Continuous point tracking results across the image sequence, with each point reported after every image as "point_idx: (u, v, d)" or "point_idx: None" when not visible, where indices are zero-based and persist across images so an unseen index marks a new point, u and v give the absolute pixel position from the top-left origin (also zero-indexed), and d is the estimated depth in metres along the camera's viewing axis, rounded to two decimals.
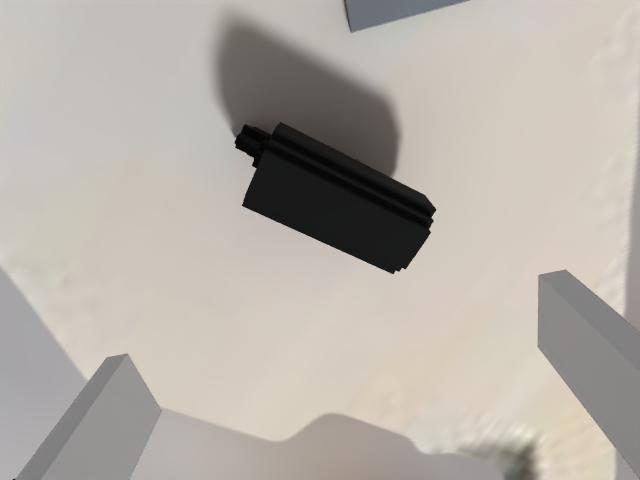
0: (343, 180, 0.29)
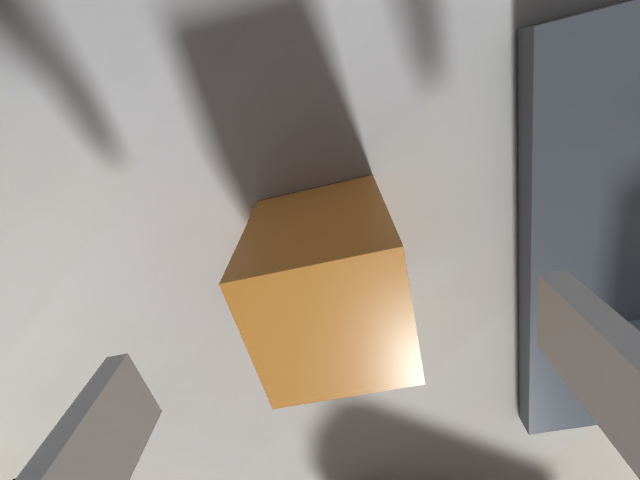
0: None
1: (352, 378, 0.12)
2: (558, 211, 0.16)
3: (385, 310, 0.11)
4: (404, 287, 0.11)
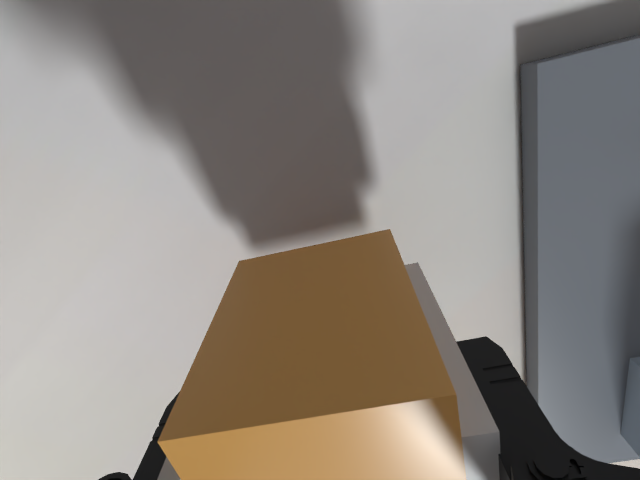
0: None
1: None
2: (565, 245, 0.15)
3: (421, 477, 0.07)
4: (454, 448, 0.07)
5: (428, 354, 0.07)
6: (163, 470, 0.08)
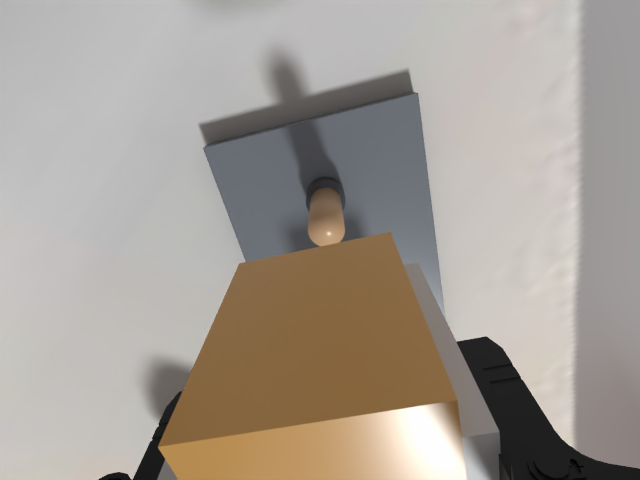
0: None
1: None
2: (254, 243, 0.27)
3: None
4: (455, 453, 0.07)
5: (429, 359, 0.07)
6: (163, 470, 0.08)
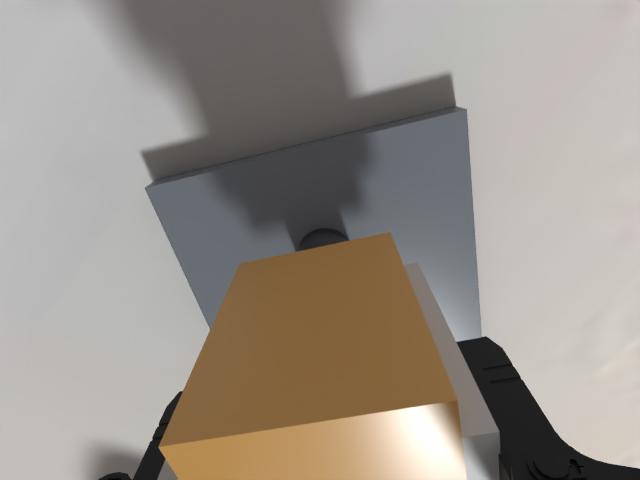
0: None
1: None
2: None
3: None
4: (455, 454, 0.07)
5: (429, 359, 0.07)
6: (163, 470, 0.08)
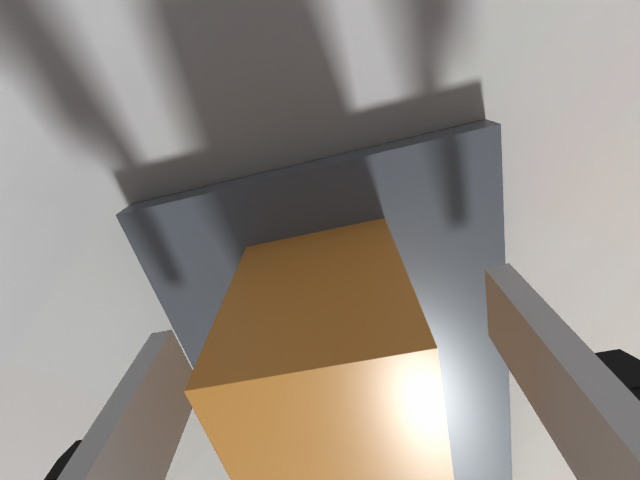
0: None
1: None
2: None
3: (409, 423, 0.08)
4: (437, 397, 0.08)
5: (415, 319, 0.08)
6: None
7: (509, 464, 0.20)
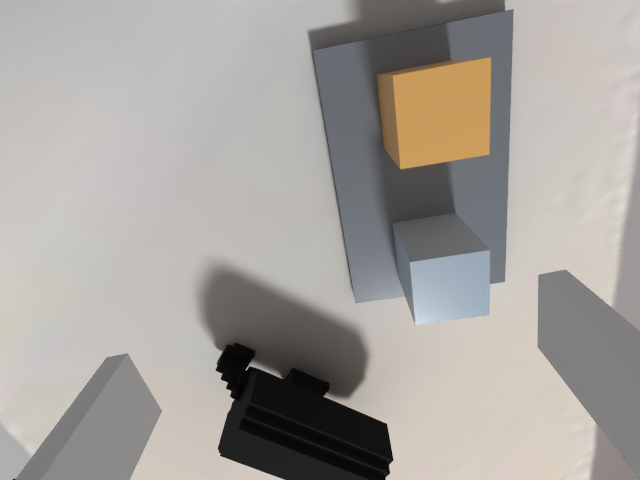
0: (309, 444, 0.32)
1: (449, 148, 0.22)
2: (343, 150, 0.29)
3: (475, 98, 0.21)
4: (488, 84, 0.21)
5: (480, 58, 0.21)
6: None
7: (504, 242, 0.32)
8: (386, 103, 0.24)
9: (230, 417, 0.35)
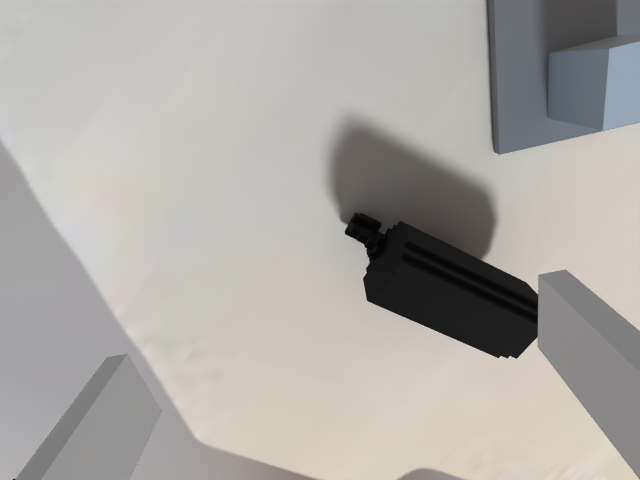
0: (468, 283, 0.31)
1: None
2: None
3: None
4: None
5: None
6: None
7: None
8: None
9: (373, 274, 0.34)
